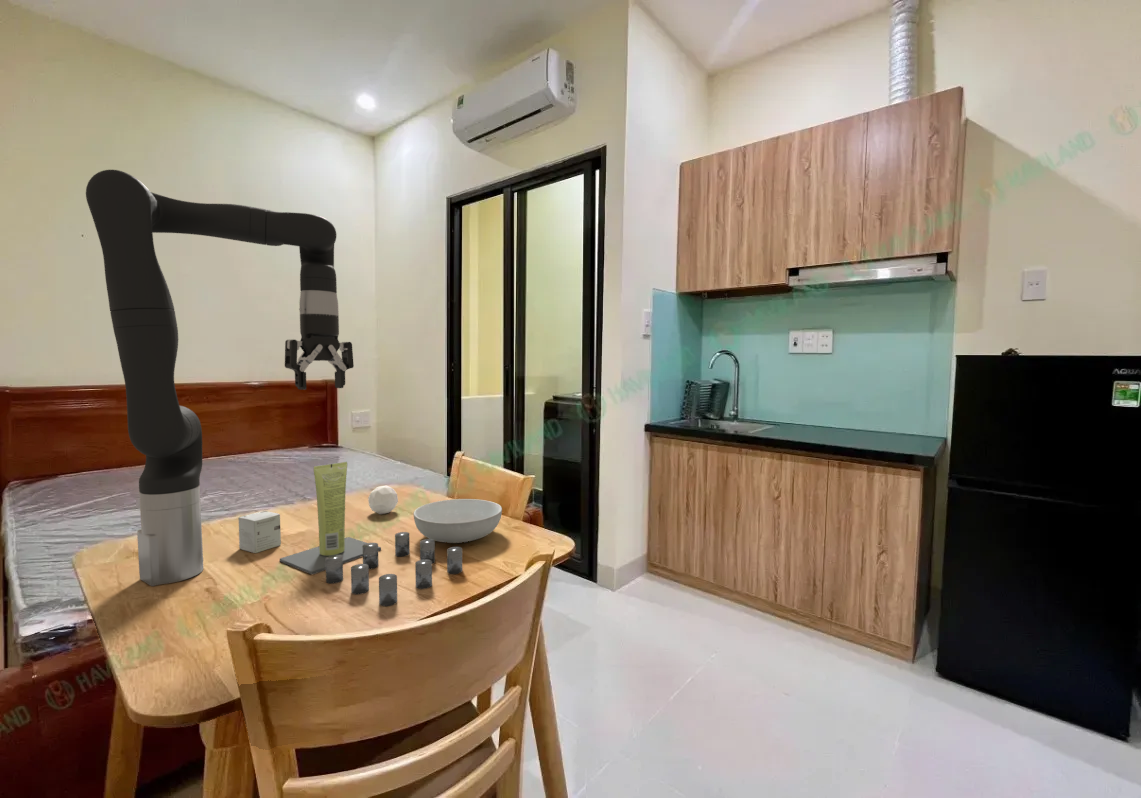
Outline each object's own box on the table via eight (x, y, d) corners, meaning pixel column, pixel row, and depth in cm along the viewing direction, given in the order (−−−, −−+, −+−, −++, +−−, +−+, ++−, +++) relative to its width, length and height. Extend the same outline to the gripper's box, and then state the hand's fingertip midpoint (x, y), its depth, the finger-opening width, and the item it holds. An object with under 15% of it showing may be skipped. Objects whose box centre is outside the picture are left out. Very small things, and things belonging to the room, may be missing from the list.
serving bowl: (517, 530, 128) (518, 503, 128) (467, 559, 109) (467, 528, 109) (451, 519, 137) (451, 493, 136) (394, 544, 118) (393, 515, 117)
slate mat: (312, 574, 100) (311, 571, 100) (279, 561, 107) (279, 558, 107) (381, 549, 114) (381, 547, 114) (348, 539, 120) (348, 536, 120)
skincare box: (255, 554, 111) (253, 521, 110) (238, 549, 114) (237, 516, 113) (281, 545, 116) (280, 513, 116) (265, 540, 119) (264, 509, 119)
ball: (377, 521, 142) (371, 495, 146) (405, 510, 143) (398, 485, 147) (367, 515, 135) (360, 488, 139) (396, 504, 137) (389, 477, 140)
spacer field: (386, 607, 87) (386, 582, 87) (322, 581, 98) (322, 558, 97) (465, 570, 103) (465, 548, 103) (403, 550, 114) (403, 531, 113)
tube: (325, 547, 113) (323, 461, 112) (349, 547, 114) (347, 460, 112) (315, 557, 108) (313, 466, 106) (340, 556, 108) (338, 466, 107)
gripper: (296, 309, 101) (298, 391, 103) (359, 315, 113) (361, 388, 115) (276, 311, 105) (278, 389, 107) (339, 316, 117) (341, 387, 119)
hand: (321, 388), depth 111 cm, fingers open, 8 cm apart
